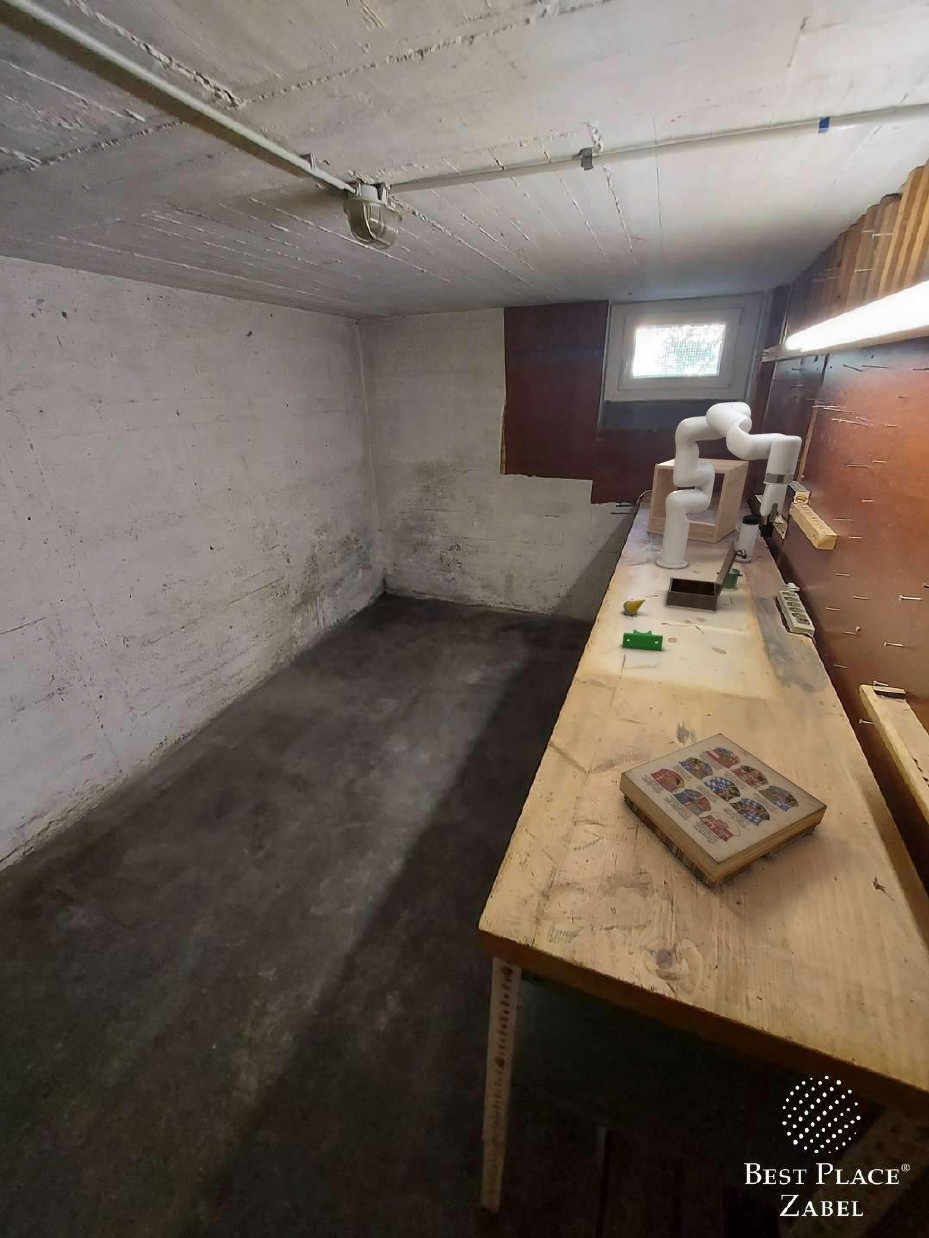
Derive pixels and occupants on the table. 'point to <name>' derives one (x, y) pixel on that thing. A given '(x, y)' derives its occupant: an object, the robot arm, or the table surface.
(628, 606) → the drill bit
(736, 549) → the chest lid
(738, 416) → the robot arm
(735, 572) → the pot
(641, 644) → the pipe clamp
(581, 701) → the table surface
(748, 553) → the travel mug
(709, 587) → the chest
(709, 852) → the beige printed box
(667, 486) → the storage cube
